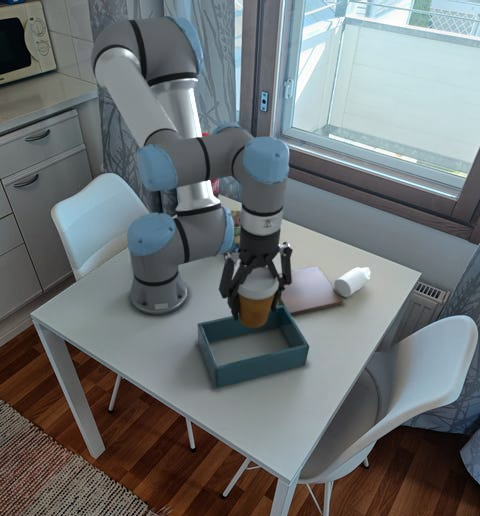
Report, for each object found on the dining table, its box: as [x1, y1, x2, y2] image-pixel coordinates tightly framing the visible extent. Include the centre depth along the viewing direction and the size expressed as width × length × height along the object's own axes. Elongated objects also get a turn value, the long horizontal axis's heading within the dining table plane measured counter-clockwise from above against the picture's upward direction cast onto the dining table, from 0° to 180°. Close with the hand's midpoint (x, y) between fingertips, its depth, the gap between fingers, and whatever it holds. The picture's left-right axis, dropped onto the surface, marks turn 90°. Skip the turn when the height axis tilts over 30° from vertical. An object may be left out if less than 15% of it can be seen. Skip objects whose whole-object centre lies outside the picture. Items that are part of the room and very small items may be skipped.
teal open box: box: [197, 304, 310, 389], centre depth 106 cm, size 15×23×7 cm, turn 109°
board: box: [277, 265, 344, 317], centre depth 124 cm, size 16×16×2 cm
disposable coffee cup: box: [237, 266, 279, 328], centre depth 95 cm, size 10×10×12 cm
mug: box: [225, 209, 241, 254], centre depth 134 cm, size 12×9×11 cm
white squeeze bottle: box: [333, 266, 372, 298], centre depth 125 cm, size 6×12×6 cm, turn 132°
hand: (253, 312), depth 98 cm, fingers closed on disposable coffee cup, 8 cm apart
